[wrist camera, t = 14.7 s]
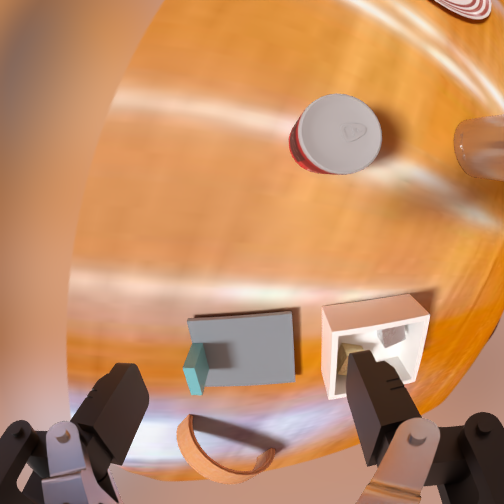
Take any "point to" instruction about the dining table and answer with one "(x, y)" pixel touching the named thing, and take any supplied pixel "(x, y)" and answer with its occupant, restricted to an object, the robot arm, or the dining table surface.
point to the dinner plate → (468, 7)
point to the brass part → (345, 356)
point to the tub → (373, 336)
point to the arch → (208, 465)
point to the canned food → (336, 136)
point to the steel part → (391, 335)
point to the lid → (240, 351)
